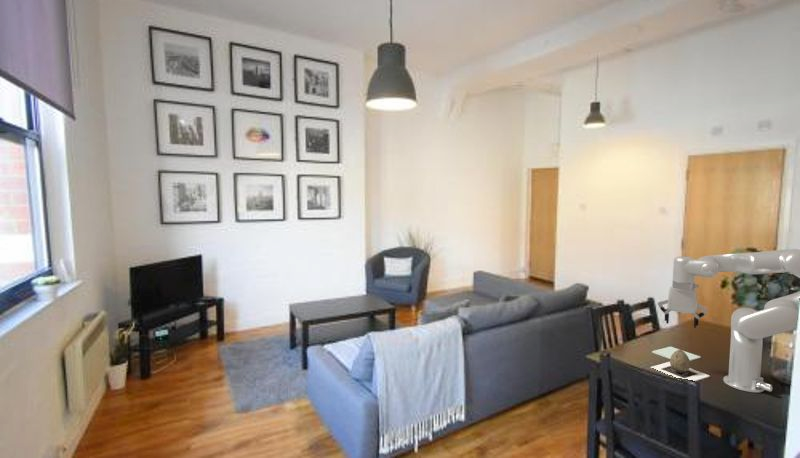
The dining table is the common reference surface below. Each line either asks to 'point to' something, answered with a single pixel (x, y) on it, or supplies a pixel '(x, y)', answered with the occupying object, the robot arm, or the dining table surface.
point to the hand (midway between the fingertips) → (680, 324)
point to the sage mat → (670, 350)
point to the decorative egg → (680, 361)
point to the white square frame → (694, 377)
